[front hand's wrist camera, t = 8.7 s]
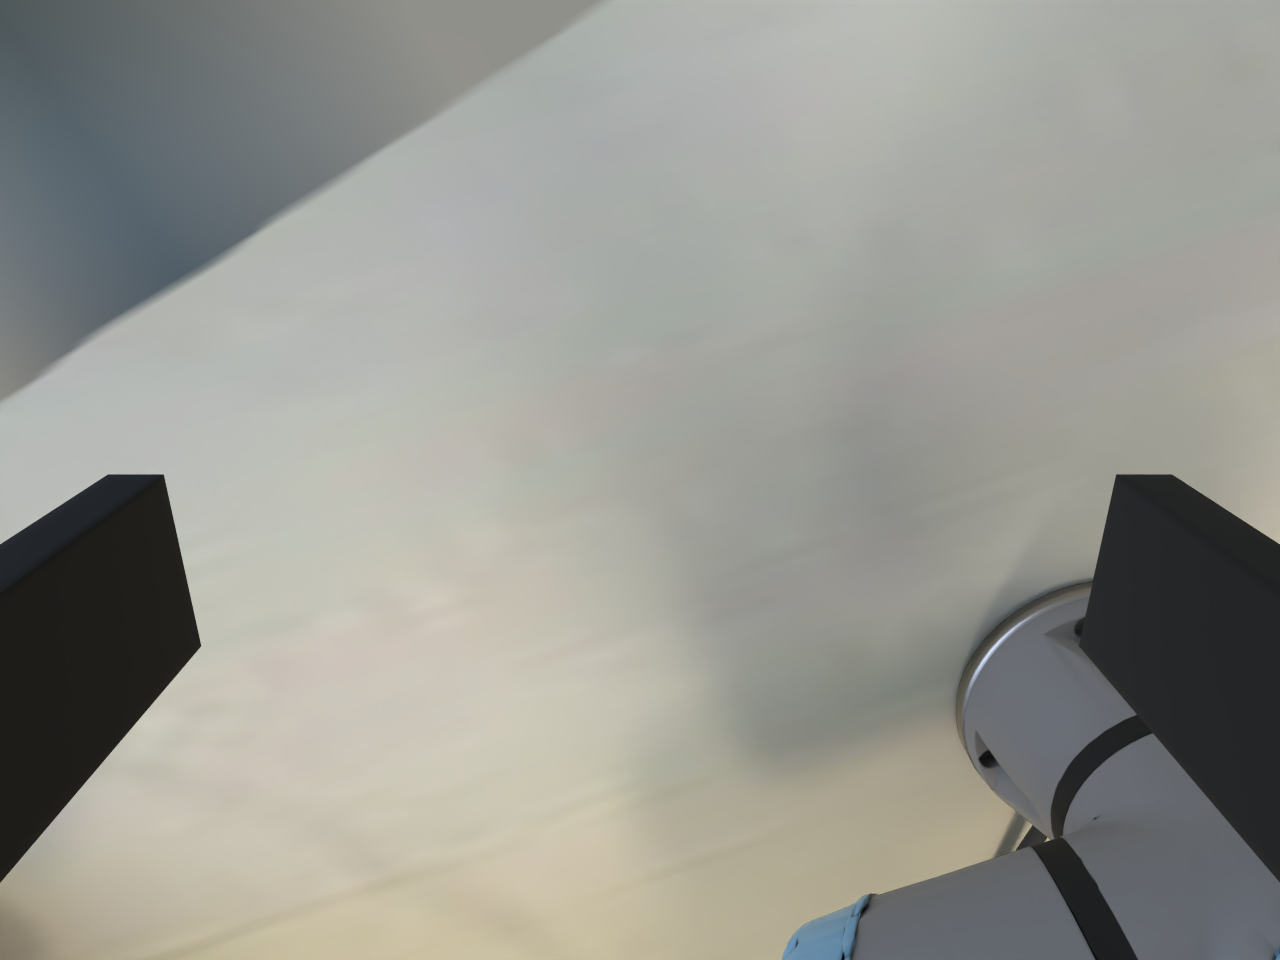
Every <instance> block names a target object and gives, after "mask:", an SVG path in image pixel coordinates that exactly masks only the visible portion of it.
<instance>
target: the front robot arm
mask: <svg viewBox="0 0 1280 960" xmlns="http://www.w3.org/2000/svg"><path fill="white" fill-rule="evenodd" d="M200 647H201V643H200V638H199V634H198V629H197V625H196V620H195V615H194V611H193V606H192V602H191V597H190V593H189V588H188V584H187V579H186V574H185V570H184V565H183V561H182V556H181V552H180V547H179V542H178V538H177V533H176V529H175V524H174V520H173V515H172V510H171V506H170V501H169V497H168V492H167V488H166V483H165V478H164V475H107V476H105V477H104V478H102V479H100V480H99V481H97V482H96V483H94V484H93V485H91V486H90V487H88V488H87V489H85V490H84V491H82V492H80V493H79V494H77V495H76V496H74V497H73V498H71V499H70V500H68V501H67V502H65V503H64V504H62V505H60V506H59V507H57V508H56V509H54V510H53V511H51V512H50V513H48V514H47V515H45V516H43V517H42V518H40V519H39V520H37V521H36V522H34V523H33V524H31V525H30V526H28V527H27V528H25V529H23V530H22V531H20V532H19V533H17V534H16V535H14V536H13V537H11V538H10V539H8V540H6V541H5V542H3V543H2V544H0V882H1V881H2V880H3V879H4V878H5V876H6V875H7V874H8V873H9V872H10V871H11V869H12V868H13V867H14V866H15V865H16V863H17V862H18V861H19V860H20V859H21V858H22V856H23V855H24V854H25V853H26V852H27V851H28V849H29V848H30V847H31V846H32V845H33V843H34V842H35V841H36V840H37V839H38V838H39V836H40V835H41V834H42V833H43V832H44V831H45V829H46V828H47V827H48V826H49V825H50V823H51V822H52V821H53V820H54V819H55V818H56V816H57V815H58V814H59V813H60V812H61V811H62V809H63V808H64V807H65V806H66V805H67V803H68V802H69V801H70V800H71V799H72V798H73V796H74V795H75V794H76V793H77V792H78V791H79V789H80V788H81V787H82V786H83V785H84V783H85V782H86V781H87V780H88V779H89V778H90V776H91V775H92V774H93V773H94V772H95V770H96V769H97V768H98V767H99V766H100V765H101V763H102V762H103V761H104V760H105V759H106V758H107V756H108V755H109V754H110V753H111V752H112V750H113V749H114V748H115V747H116V746H117V745H118V743H119V742H120V741H121V740H122V739H123V738H124V736H125V735H126V734H127V733H128V732H129V730H130V729H131V728H132V727H133V726H134V725H135V723H136V722H137V721H138V720H139V719H140V718H141V716H142V715H143V714H144V713H145V712H146V710H147V709H148V708H149V707H150V706H151V705H152V703H153V702H154V701H155V700H156V699H157V698H158V696H159V695H160V694H161V693H162V692H163V690H164V689H165V688H166V687H167V686H168V685H169V683H170V682H171V681H172V680H173V679H174V677H175V676H176V675H177V674H178V673H179V672H180V670H181V669H182V668H183V667H184V666H185V665H186V663H187V662H188V661H189V660H190V659H191V657H192V656H193V655H194V654H195V653H196V652H197V650H198V649H199V648H200ZM956 722H957V728H958V732H959V736H960V739H961V741H962V744H963V746H964V748H965V750H966V752H967V754H968V756H969V758H970V760H971V761H972V763H973V765H974V767H975V769H976V770H977V772H978V773H979V774H980V776H981V777H982V778H983V779H984V781H985V782H986V783H987V784H988V786H989V787H990V788H991V789H992V790H993V791H994V792H995V793H996V795H998V796H999V797H1000V798H1001V799H1002V800H1003V801H1005V802H1006V803H1007V804H1008V805H1009V806H1011V807H1012V808H1013V809H1014V810H1015V811H1017V812H1018V813H1019V814H1020V815H1021V816H1023V817H1024V818H1025V819H1026V820H1027V821H1029V822H1030V823H1031V824H1032V827H1031V828H1030V830H1029V831H1028V833H1027V834H1026V836H1025V837H1024V839H1023V840H1022V842H1021V843H1020V845H1019V846H1018V848H1017V849H1016V851H1014V852H1011V853H1008V854H1005V855H1002V856H999V857H996V858H993V859H990V860H987V861H984V862H981V863H978V864H975V865H972V866H969V867H966V868H963V869H960V870H957V871H954V872H951V873H947V874H944V875H941V876H938V877H935V878H932V879H929V880H925V881H922V882H919V883H916V884H912V885H909V886H906V887H903V888H899V889H896V890H893V891H890V892H886V893H883V894H880V895H877V894H868V895H864V896H863V897H862V898H860V899H859V900H858V901H857V902H856V903H855V904H853V905H850V906H848V907H846V908H843V909H841V910H838V911H836V912H833V913H831V914H828V915H826V916H823V917H820V918H818V919H815V920H812V921H810V922H808V923H806V924H804V925H803V926H802V927H800V928H799V929H798V930H797V931H796V932H795V933H794V934H793V936H792V937H791V939H790V940H789V942H788V944H787V947H786V949H785V951H784V954H783V958H782V960H1280V544H1278V543H1277V542H1275V541H1274V540H1272V539H1270V538H1269V537H1267V536H1266V535H1264V534H1263V533H1261V532H1260V531H1258V530H1257V529H1255V528H1253V527H1252V526H1250V525H1249V524H1247V523H1246V522H1244V521H1243V520H1241V519H1240V518H1238V517H1237V516H1235V515H1233V514H1232V513H1230V512H1229V511H1227V510H1226V509H1224V508H1223V507H1221V506H1220V505H1218V504H1216V503H1215V502H1213V501H1212V500H1210V499H1209V498H1207V497H1206V496H1204V495H1203V494H1201V493H1200V492H1198V491H1196V490H1195V489H1193V488H1192V487H1190V486H1189V485H1187V484H1186V483H1184V482H1183V481H1181V480H1180V479H1178V478H1176V477H1175V476H1173V475H1116V478H1115V483H1114V488H1113V492H1112V497H1111V501H1110V506H1109V510H1108V515H1107V520H1106V524H1105V529H1104V533H1103V538H1102V542H1101V547H1100V552H1099V556H1098V561H1097V565H1096V570H1095V574H1094V579H1093V582H1089V583H1084V584H1079V585H1074V586H1071V587H1067V588H1064V589H1061V590H1058V591H1055V592H1052V593H1050V594H1047V595H1045V596H1043V597H1041V598H1039V599H1037V600H1035V601H1033V602H1031V603H1029V604H1027V605H1026V606H1024V607H1022V608H1021V609H1019V610H1018V611H1016V612H1015V613H1013V614H1012V615H1011V616H1009V617H1008V618H1007V619H1006V620H1004V621H1003V622H1002V623H1001V624H1000V625H999V626H998V627H996V628H995V629H994V630H993V631H992V632H991V633H990V634H989V636H988V637H987V638H986V639H985V640H984V641H983V642H982V644H981V645H980V646H979V648H978V649H977V650H976V652H975V653H974V655H973V657H972V658H971V660H970V661H969V663H968V665H967V667H966V669H965V672H964V674H963V677H962V679H961V682H960V685H959V690H958V694H957V701H956ZM1047 837H1048V838H1049V839H1050V841H1047V842H1045V840H1046V839H1047Z"/></svg>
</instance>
